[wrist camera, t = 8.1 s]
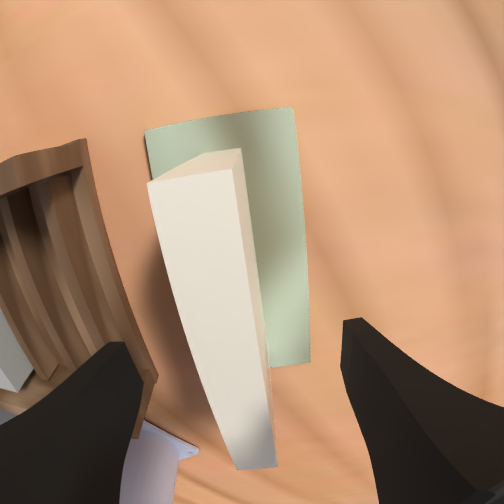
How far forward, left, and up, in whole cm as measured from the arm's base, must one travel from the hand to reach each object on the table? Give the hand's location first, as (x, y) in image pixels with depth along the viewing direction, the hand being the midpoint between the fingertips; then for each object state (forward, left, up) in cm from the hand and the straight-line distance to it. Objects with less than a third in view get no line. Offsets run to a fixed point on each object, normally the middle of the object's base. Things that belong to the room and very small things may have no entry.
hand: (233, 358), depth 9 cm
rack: (-7, +5, -7) cm, 11 cm away
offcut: (-16, +8, -6) cm, 19 cm away
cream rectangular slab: (0, 0, -7) cm, 7 cm away
